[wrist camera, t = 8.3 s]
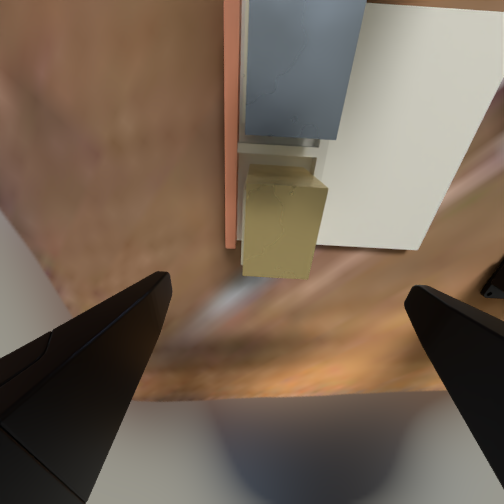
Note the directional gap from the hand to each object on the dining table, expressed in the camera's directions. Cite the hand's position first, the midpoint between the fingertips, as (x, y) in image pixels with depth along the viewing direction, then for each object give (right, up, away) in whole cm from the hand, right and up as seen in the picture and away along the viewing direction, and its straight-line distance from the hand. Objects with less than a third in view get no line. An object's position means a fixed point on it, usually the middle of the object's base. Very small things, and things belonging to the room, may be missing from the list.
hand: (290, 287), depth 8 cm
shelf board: (+5, +9, +8) cm, 13 cm away
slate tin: (0, +12, +6) cm, 13 cm away
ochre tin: (0, +5, +9) cm, 11 cm away
